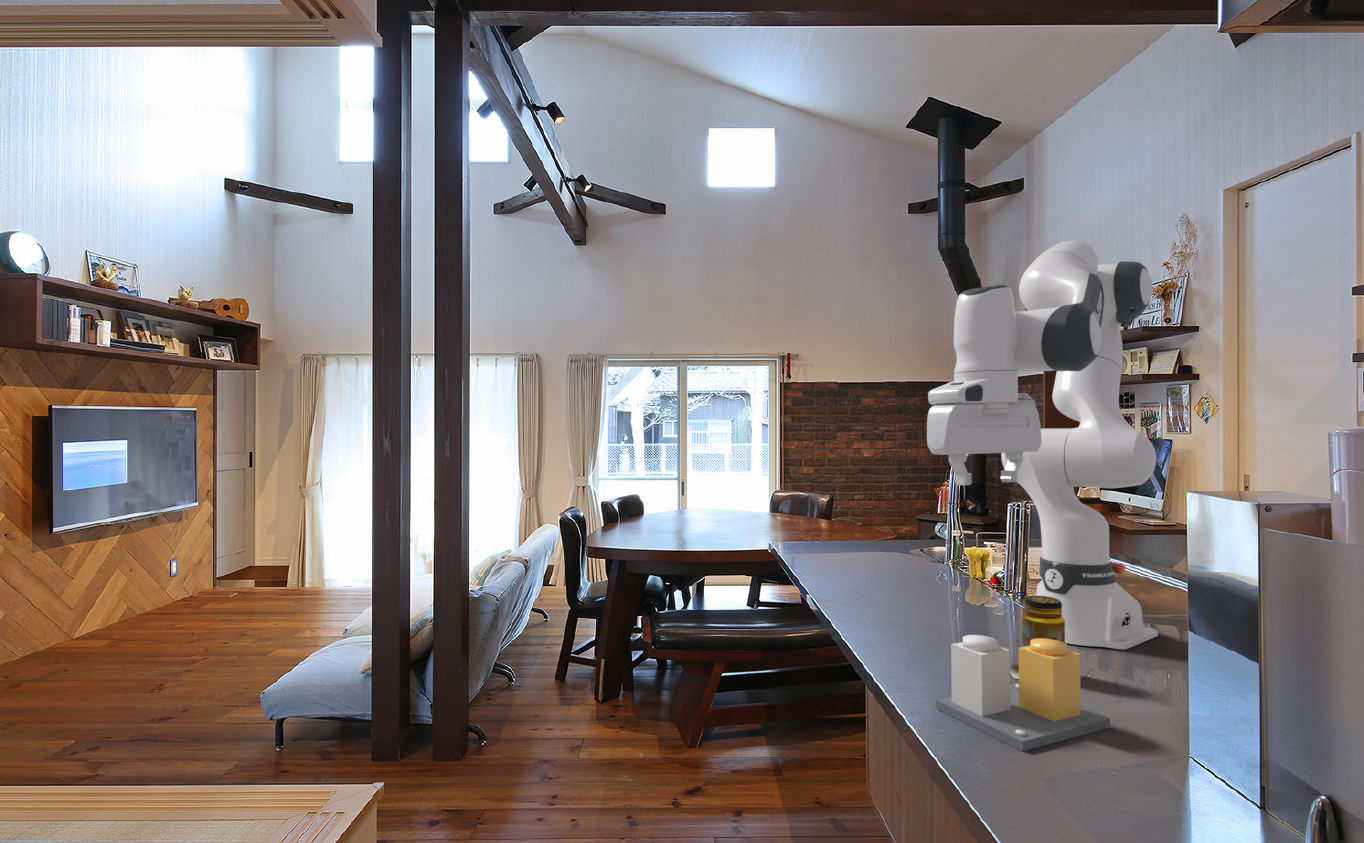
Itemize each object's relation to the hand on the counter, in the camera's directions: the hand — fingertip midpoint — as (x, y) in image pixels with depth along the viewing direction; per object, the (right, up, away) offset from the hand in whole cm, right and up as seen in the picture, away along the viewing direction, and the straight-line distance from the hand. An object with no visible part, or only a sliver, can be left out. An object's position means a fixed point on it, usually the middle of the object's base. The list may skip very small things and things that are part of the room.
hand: (986, 483), depth 104 cm
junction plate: (-1, -31, -11) cm, 33 cm away
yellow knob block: (+3, -29, -12) cm, 32 cm away
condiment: (+11, -31, +6) cm, 33 cm away
